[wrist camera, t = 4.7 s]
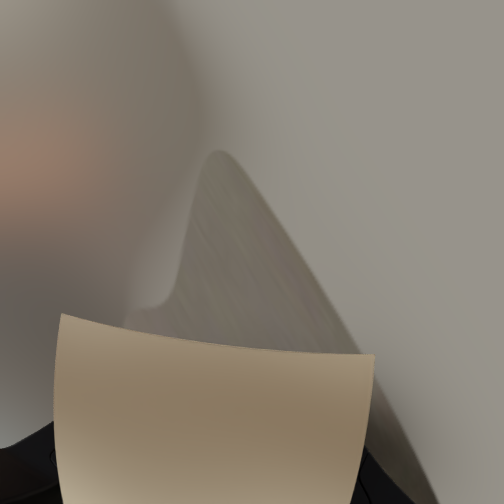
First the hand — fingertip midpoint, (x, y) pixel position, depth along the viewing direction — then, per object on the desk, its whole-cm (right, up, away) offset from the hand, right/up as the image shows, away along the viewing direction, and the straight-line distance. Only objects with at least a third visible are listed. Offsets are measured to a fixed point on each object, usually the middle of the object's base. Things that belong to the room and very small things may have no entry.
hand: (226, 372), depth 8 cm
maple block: (0, -3, +6) cm, 7 cm away
